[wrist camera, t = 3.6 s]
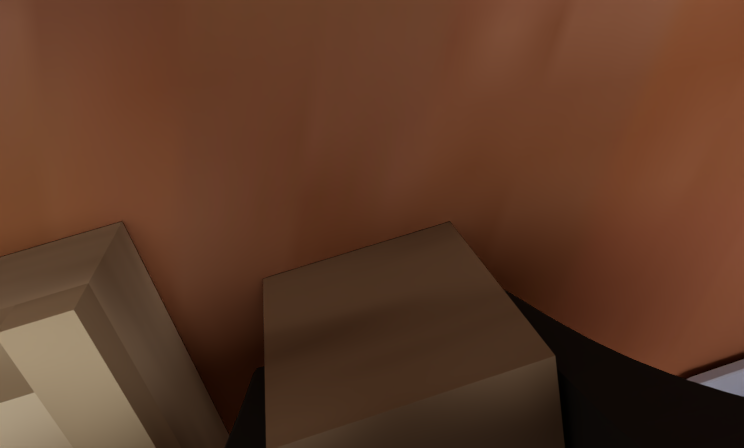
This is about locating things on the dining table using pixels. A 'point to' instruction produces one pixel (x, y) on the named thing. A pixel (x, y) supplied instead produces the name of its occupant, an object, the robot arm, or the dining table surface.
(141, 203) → the dining table surface
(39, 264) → the beech base
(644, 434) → the robot arm
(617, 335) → the dining table surface
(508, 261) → the dining table surface
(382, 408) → the walnut block
